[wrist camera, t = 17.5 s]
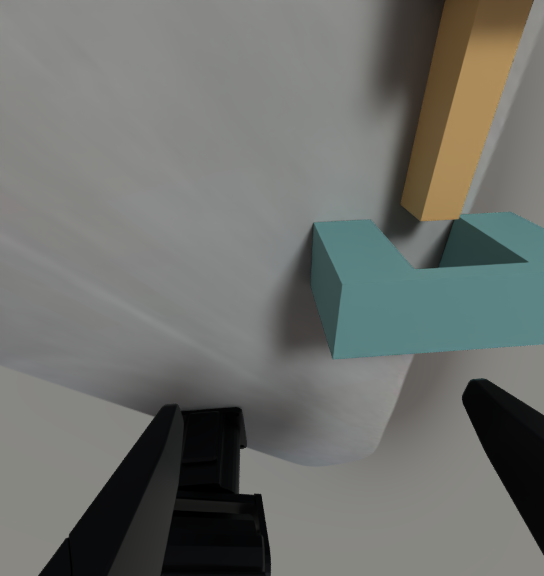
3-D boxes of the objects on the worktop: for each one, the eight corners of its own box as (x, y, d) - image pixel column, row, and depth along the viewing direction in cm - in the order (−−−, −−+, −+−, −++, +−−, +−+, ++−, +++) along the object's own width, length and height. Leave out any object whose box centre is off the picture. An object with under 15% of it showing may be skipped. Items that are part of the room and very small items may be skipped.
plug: (450, 201, 18) (504, 234, 14) (383, 205, 17) (419, 239, 14) (588, -233, 9) (803, -431, 6) (465, -233, 9) (605, -438, 6)
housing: (483, 274, 21) (565, 342, 15) (310, 285, 20) (333, 359, 15) (511, 211, 18) (621, 267, 13) (313, 222, 18) (342, 284, 12)
